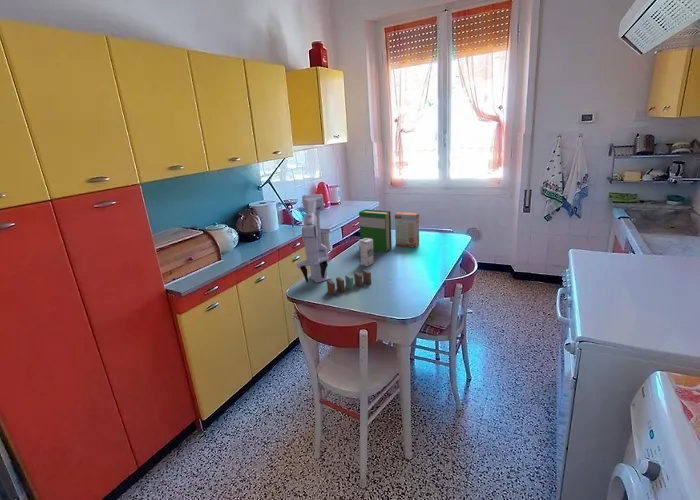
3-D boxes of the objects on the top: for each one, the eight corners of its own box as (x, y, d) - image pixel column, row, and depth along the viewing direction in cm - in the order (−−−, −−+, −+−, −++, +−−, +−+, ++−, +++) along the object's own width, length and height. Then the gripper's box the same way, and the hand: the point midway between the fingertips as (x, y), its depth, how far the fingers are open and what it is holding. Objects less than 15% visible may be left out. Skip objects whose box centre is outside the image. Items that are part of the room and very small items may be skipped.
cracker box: (419, 245, 230) (419, 212, 223) (416, 248, 225) (415, 215, 218) (399, 242, 237) (398, 211, 230) (395, 245, 233) (394, 213, 226)
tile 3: (359, 287, 178) (359, 275, 176) (354, 283, 182) (354, 272, 180) (362, 286, 179) (362, 275, 177) (357, 282, 183) (356, 271, 181)
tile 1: (332, 295, 171) (331, 284, 169) (327, 291, 176) (326, 280, 174) (335, 294, 172) (334, 283, 170) (330, 290, 176) (329, 279, 174)
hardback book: (391, 248, 227) (390, 211, 219) (386, 252, 221) (384, 214, 213) (367, 245, 236) (365, 209, 228) (361, 249, 231) (358, 212, 223)
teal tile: (348, 285, 181) (347, 274, 179) (353, 289, 176) (353, 277, 174) (346, 286, 180) (345, 275, 178) (351, 289, 176) (350, 278, 174)
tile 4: (368, 284, 180) (367, 273, 178) (363, 281, 184) (362, 270, 182) (371, 283, 181) (370, 272, 179) (366, 280, 185) (365, 269, 183)
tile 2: (341, 292, 174) (340, 281, 172) (337, 289, 178) (336, 277, 176) (344, 291, 174) (343, 280, 172) (339, 288, 178) (338, 276, 176)
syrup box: (365, 261, 210) (364, 237, 205) (374, 263, 206) (373, 238, 201) (359, 264, 206) (358, 240, 201) (368, 266, 202) (366, 241, 197)
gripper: (298, 257, 157) (302, 285, 161) (330, 250, 162) (332, 278, 166) (294, 252, 163) (297, 280, 167) (324, 246, 168) (327, 273, 172)
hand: (314, 279), depth 167 cm, fingers open, 7 cm apart
